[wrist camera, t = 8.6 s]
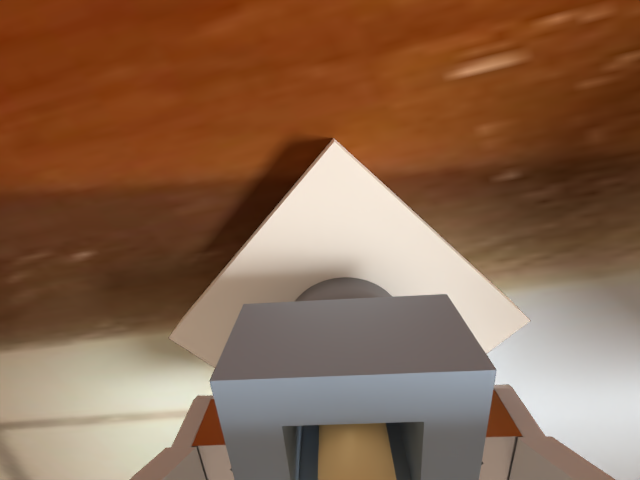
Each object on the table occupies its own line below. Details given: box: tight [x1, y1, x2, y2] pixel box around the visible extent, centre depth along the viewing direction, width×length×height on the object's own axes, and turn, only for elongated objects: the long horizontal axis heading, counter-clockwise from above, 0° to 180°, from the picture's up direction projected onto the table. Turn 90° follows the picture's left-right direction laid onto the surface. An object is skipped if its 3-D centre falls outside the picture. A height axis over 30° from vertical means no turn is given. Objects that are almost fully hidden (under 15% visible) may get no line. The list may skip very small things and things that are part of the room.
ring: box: [210, 294, 496, 480], centre depth 9 cm, size 6×6×3 cm
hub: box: [168, 138, 531, 480], centre depth 10 cm, size 10×10×8 cm
